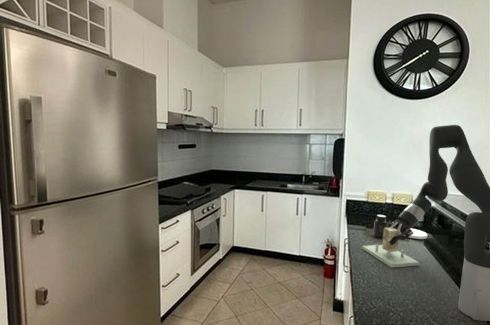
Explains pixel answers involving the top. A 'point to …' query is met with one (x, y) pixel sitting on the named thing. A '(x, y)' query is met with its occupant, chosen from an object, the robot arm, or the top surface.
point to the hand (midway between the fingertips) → (386, 241)
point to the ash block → (387, 236)
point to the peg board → (390, 256)
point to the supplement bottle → (379, 226)
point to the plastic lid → (418, 234)
